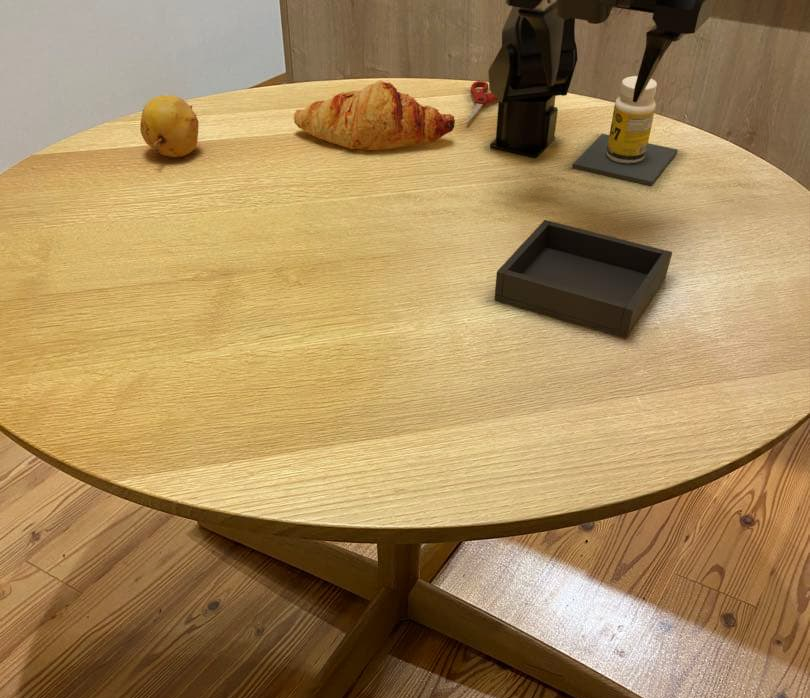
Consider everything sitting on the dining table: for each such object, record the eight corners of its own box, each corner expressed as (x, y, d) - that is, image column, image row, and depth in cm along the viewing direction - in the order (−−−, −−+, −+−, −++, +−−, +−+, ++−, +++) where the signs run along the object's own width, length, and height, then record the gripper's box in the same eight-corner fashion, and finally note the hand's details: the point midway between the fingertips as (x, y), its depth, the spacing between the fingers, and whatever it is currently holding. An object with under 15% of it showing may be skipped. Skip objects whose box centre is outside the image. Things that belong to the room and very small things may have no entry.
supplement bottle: (602, 148, 99) (615, 74, 93) (640, 147, 99) (655, 73, 93) (609, 165, 96) (623, 90, 90) (648, 164, 96) (664, 89, 90)
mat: (572, 167, 97) (572, 163, 96) (601, 137, 103) (602, 133, 102) (651, 185, 94) (652, 181, 93) (677, 153, 99) (677, 149, 99)
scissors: (511, 91, 113) (511, 83, 112) (486, 129, 104) (486, 121, 103) (474, 86, 114) (474, 79, 113) (446, 124, 105) (446, 116, 105)
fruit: (176, 125, 93) (213, 91, 99) (121, 103, 93) (161, 71, 99) (176, 179, 98) (211, 144, 104) (124, 159, 98) (163, 125, 104)
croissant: (293, 168, 105) (277, 124, 97) (305, 104, 107) (290, 55, 100) (451, 175, 102) (448, 129, 95) (460, 108, 105) (458, 59, 97)
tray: (494, 299, 78) (496, 271, 76) (541, 247, 85) (544, 219, 82) (626, 339, 74) (633, 310, 71) (665, 280, 80) (672, 251, 78)
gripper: (486, -91, 68) (476, 103, 80) (701, -66, 62) (655, 140, 74) (538, -116, 74) (522, 67, 86) (738, -96, 68) (691, 99, 80)
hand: (592, 92), depth 81 cm, fingers open, 9 cm apart
